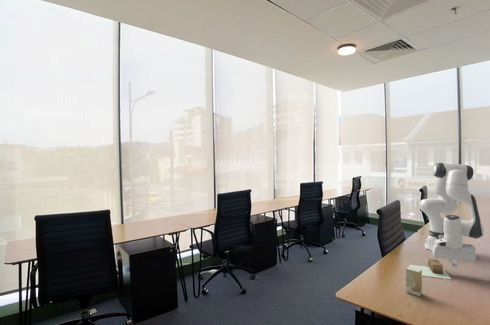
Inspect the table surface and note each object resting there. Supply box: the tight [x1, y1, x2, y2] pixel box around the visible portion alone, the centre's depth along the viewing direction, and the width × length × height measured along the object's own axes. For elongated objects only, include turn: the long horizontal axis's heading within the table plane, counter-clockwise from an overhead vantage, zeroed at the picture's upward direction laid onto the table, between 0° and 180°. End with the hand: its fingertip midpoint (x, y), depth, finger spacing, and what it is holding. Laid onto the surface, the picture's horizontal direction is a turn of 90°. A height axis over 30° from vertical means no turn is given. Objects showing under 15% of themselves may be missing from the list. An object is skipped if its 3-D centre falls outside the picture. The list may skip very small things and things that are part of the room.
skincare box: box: [405, 265, 423, 297], centre depth 132 cm, size 6×4×12 cm
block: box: [427, 258, 444, 274], centre depth 158 cm, size 5×5×11 cm
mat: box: [408, 264, 452, 280], centre depth 157 cm, size 16×18×1 cm
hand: (453, 266), depth 154 cm, fingers closed
